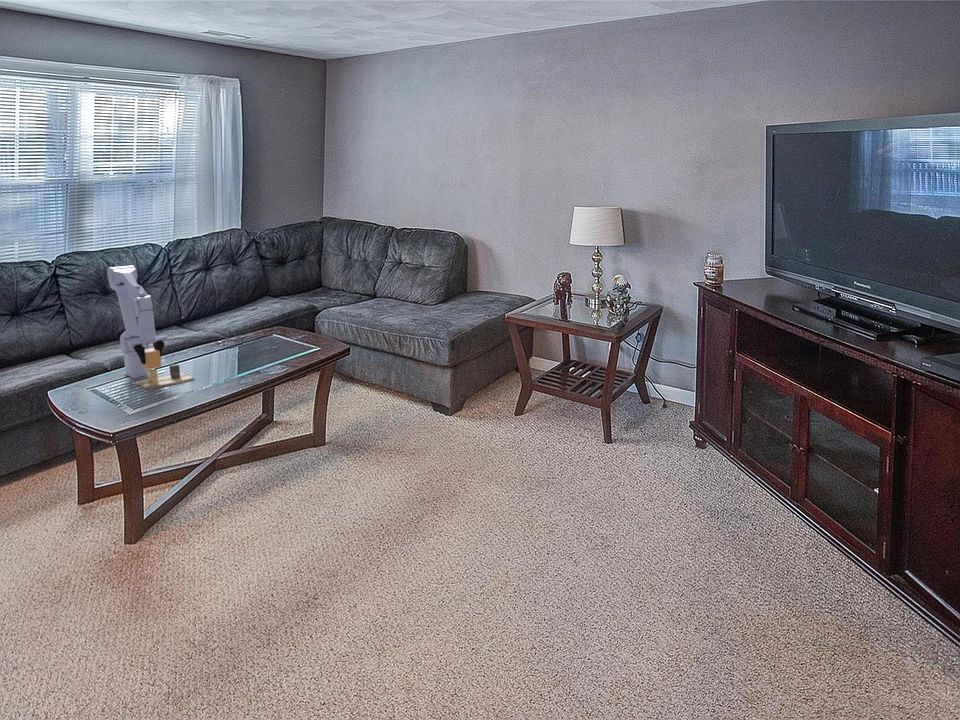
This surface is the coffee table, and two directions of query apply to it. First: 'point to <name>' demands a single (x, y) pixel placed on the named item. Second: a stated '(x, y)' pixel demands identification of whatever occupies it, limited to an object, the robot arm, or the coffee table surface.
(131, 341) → the robot arm
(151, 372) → the brass post
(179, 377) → the post board
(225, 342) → the coffee table surface
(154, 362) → the orange rectangular block
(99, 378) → the coffee table surface
